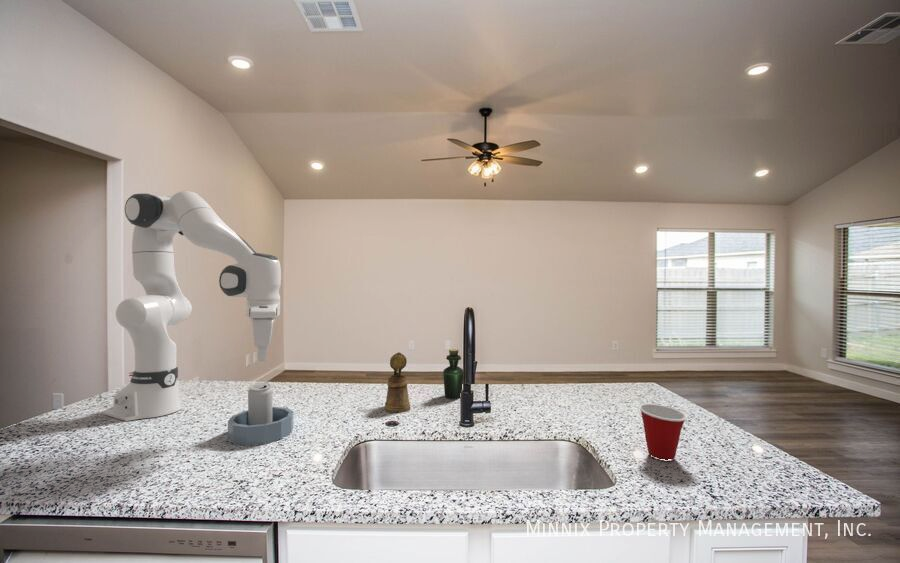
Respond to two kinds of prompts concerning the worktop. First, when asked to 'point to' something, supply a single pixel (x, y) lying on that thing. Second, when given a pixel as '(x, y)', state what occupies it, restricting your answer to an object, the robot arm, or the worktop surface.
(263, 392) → the beverage can
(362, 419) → the worktop surface
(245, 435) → the bowl
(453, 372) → the potion bottle
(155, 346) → the robot arm
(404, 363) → the wooden bell
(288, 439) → the worktop surface
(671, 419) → the plastic cup
